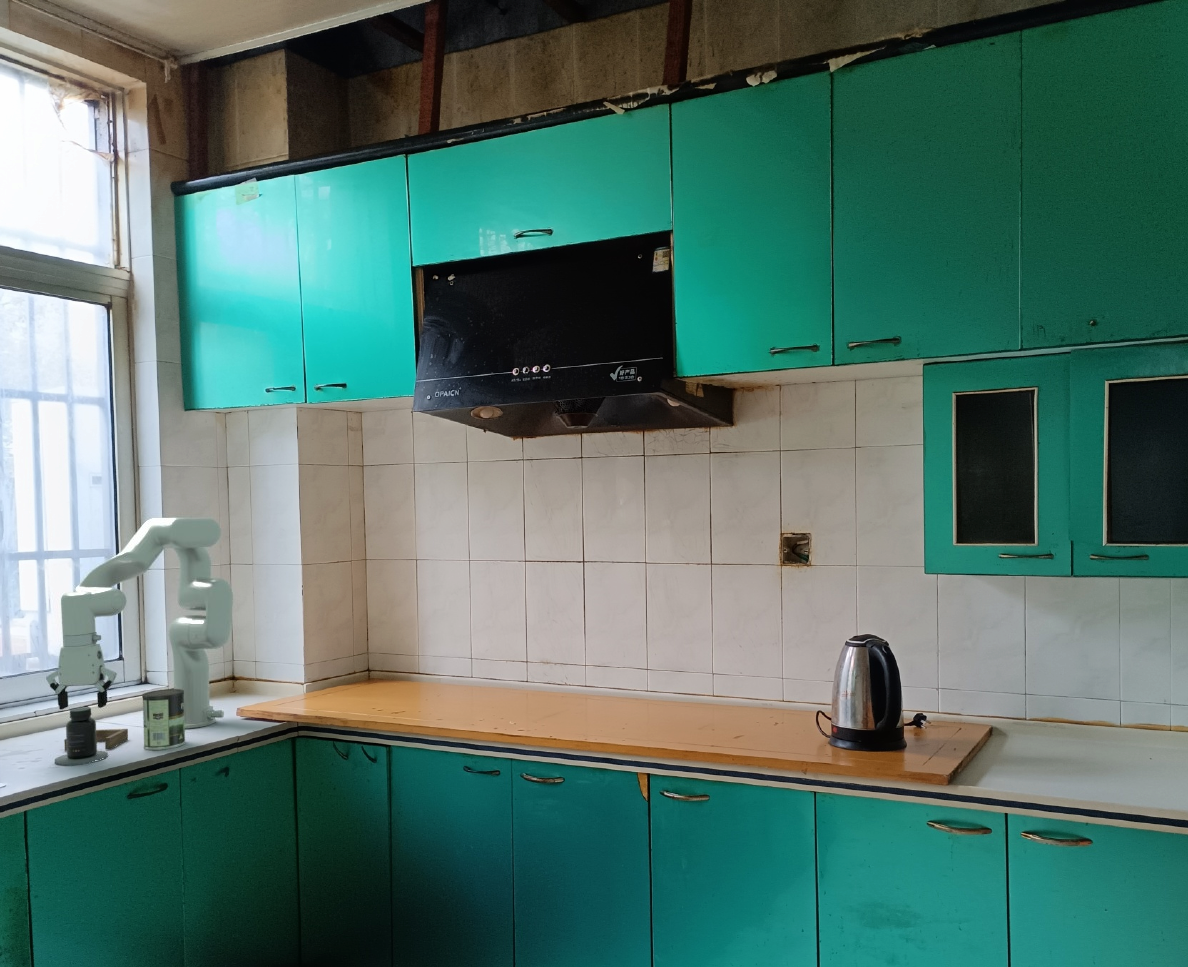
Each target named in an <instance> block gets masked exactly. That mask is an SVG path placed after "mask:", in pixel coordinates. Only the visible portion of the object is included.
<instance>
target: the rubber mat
mask: <svg viewBox="0 0 1188 967" xmlns="http://www.w3.org/2000/svg"><path fill="white" fill-rule="evenodd" d="M107 755H109V754H108V752H107V751H104V750H97V753H96V755H95V756H92V757H89V758H85V759H76V760H73V759H69V758H68V757H67V753H66V754H62V755H60V756H58V757H56V758H55V759H54V764H55V765H57V766H77V765H79V764H81V765H84V764H83V763H87V764H90V763H89V762H92V761H95V760H100V759H102V758H105V759H106V757H107V758H108V756H107ZM100 761H101V760H100ZM92 763H93V762H92Z"/></svg>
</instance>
